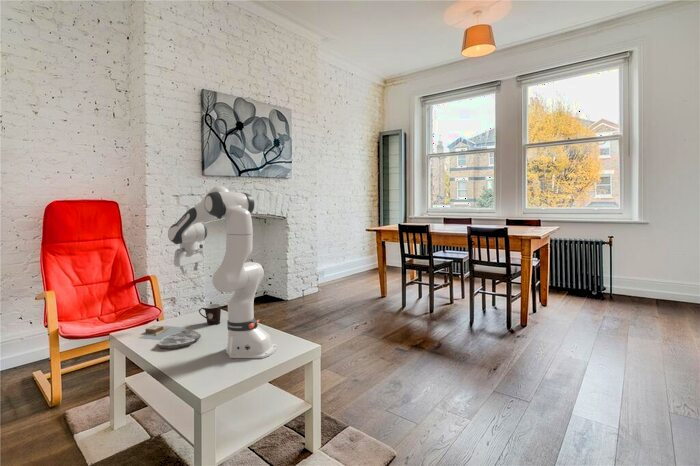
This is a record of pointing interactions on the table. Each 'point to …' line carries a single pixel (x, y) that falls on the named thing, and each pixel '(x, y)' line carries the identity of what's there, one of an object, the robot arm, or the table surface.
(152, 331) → the walnut block
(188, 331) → the brain slice
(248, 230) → the robot arm
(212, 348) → the table surface
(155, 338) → the rubber mat
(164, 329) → the birch strip
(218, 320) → the coffee mug
